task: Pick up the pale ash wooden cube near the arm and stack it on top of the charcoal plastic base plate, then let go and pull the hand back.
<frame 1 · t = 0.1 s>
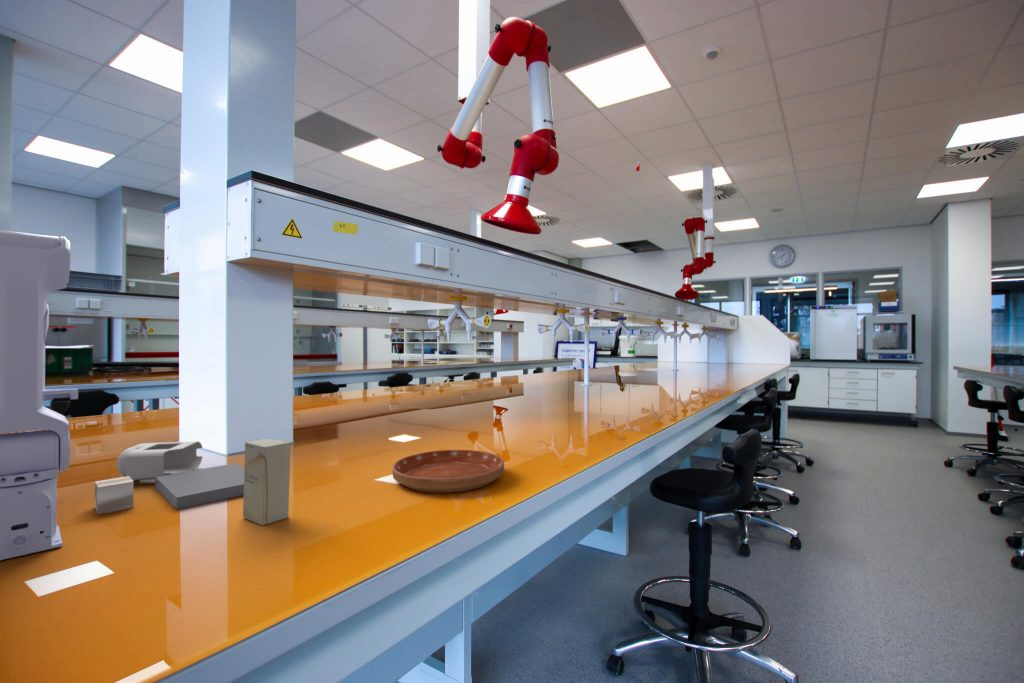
hand: (21, 442, 83), 10 cm above the counter, fingers open, 7 cm apart
saucer: (449, 480, 96), on the counter
ash cube: (114, 507, 78), on the counter
cable organizer: (159, 477, 97), on the counter
base plate: (209, 488, 89), on the counter
skincare box: (266, 519, 74), on the counter
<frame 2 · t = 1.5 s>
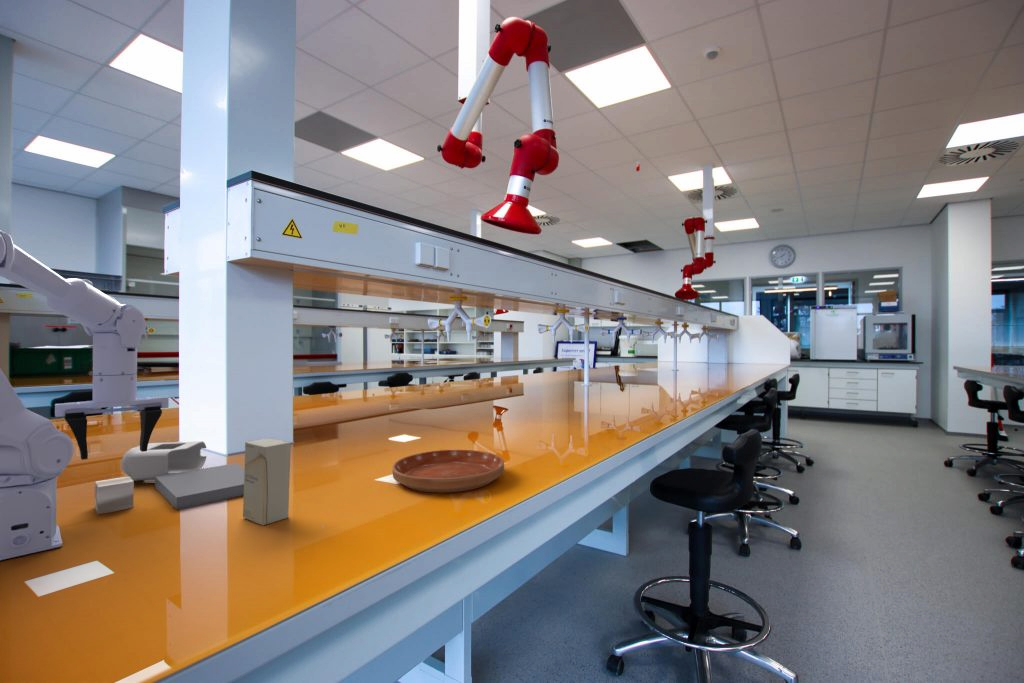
hand: (114, 454, 78), 9 cm above the counter, fingers open, 7 cm apart
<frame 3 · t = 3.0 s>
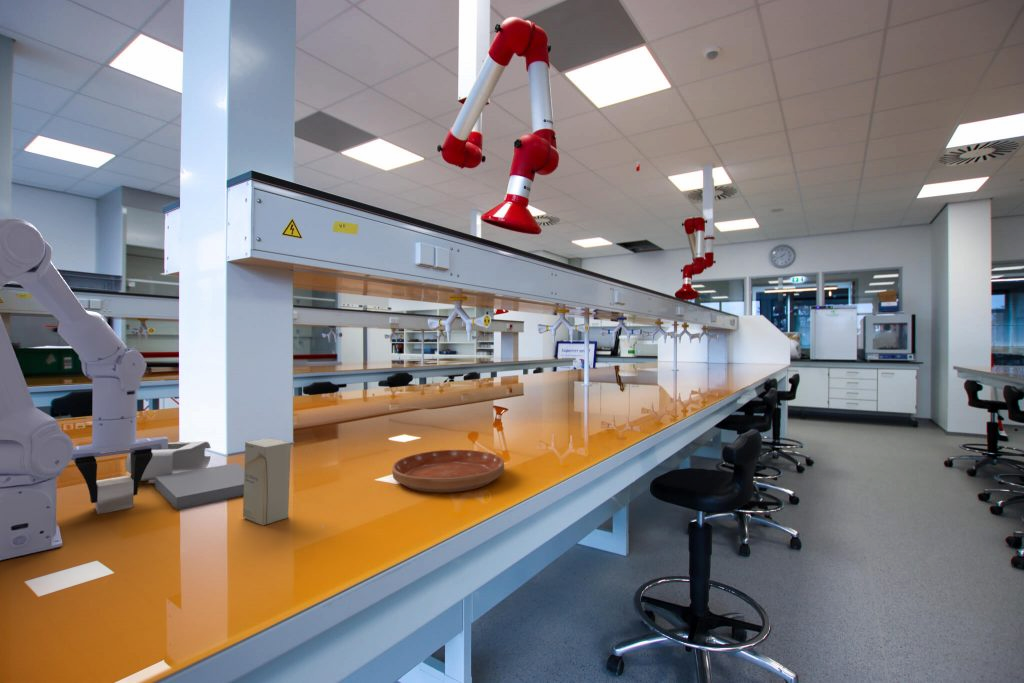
hand: (114, 497, 78), 2 cm above the counter, fingers closed on ash cube, 4 cm apart
ash cube: (114, 507, 78), on the counter, touching gripper
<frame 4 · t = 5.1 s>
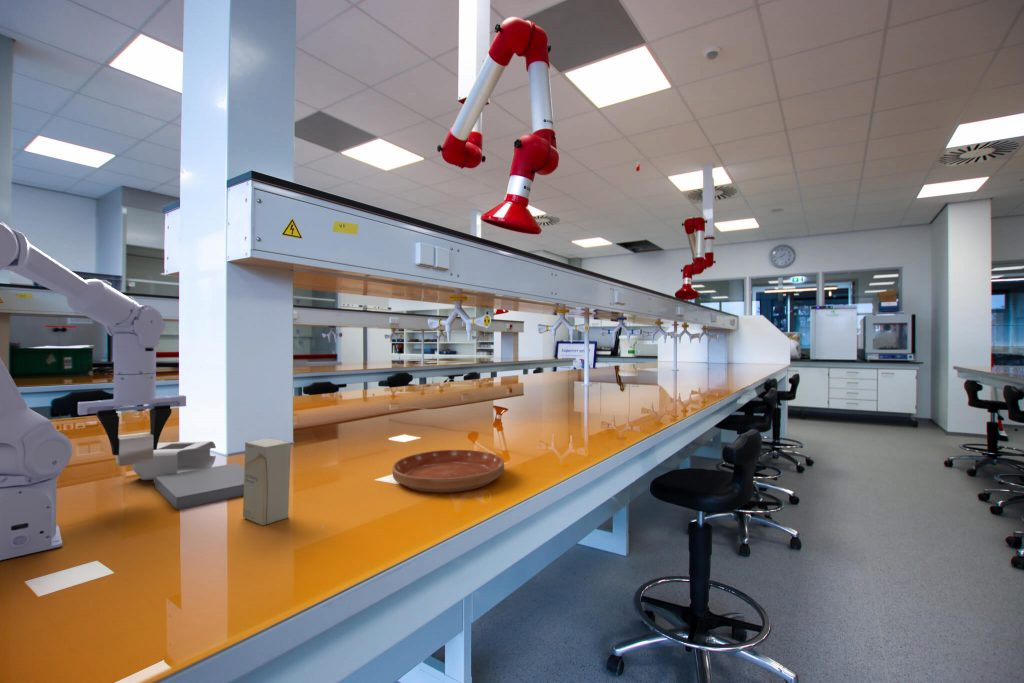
hand: (134, 451, 80), 9 cm above the counter, fingers closed on ash cube, 4 cm apart
ash cube: (134, 461, 80), point 7 cm above the counter, touching gripper
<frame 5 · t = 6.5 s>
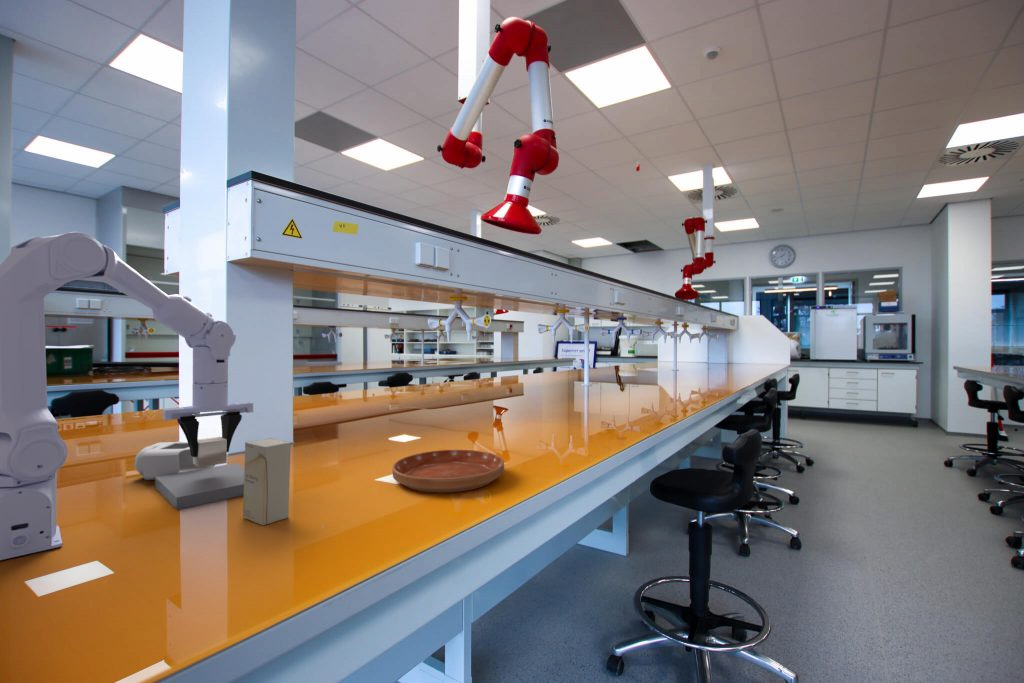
hand: (210, 453, 89), 7 cm above the counter, fingers closed on ash cube, 4 cm apart
ash cube: (209, 463, 89), point 5 cm above the counter, touching gripper
cable organizer: (175, 476, 98), on the counter, touching base plate
everything else where it was.
when the fingers open (4 cm above the counter, at t = 7.5 s): ash cube stays where it is, resting on base plate.
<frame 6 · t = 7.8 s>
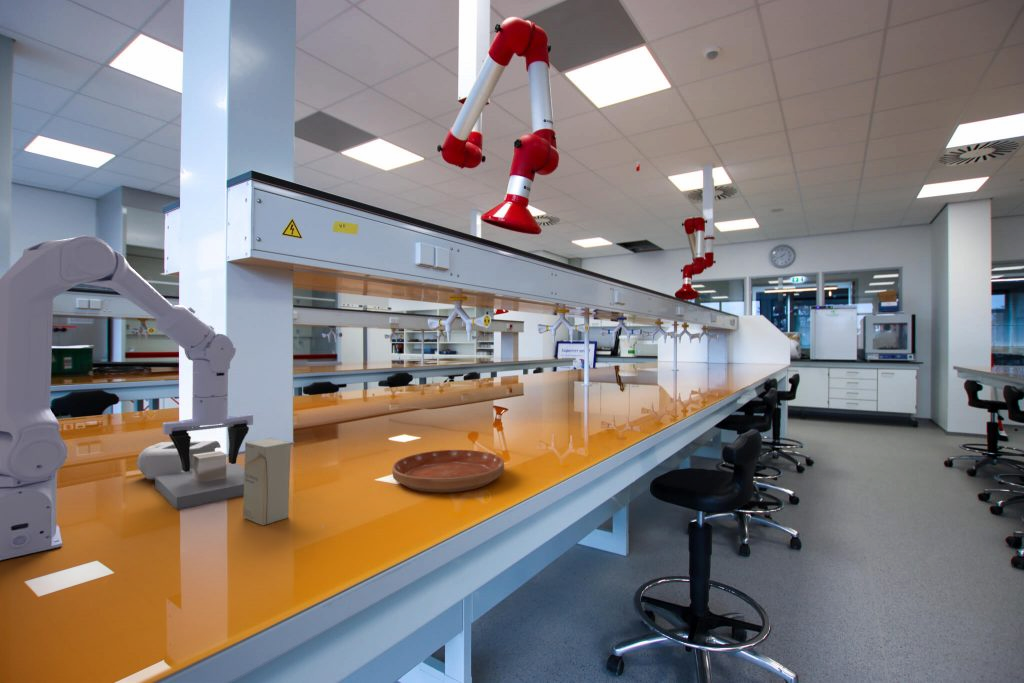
hand: (209, 466, 89), 4 cm above the counter, fingers open, 7 cm apart
ash cube: (209, 478, 89), point 2 cm above the counter, touching base plate
cable organizer: (178, 476, 98), on the counter
everything else where it was.
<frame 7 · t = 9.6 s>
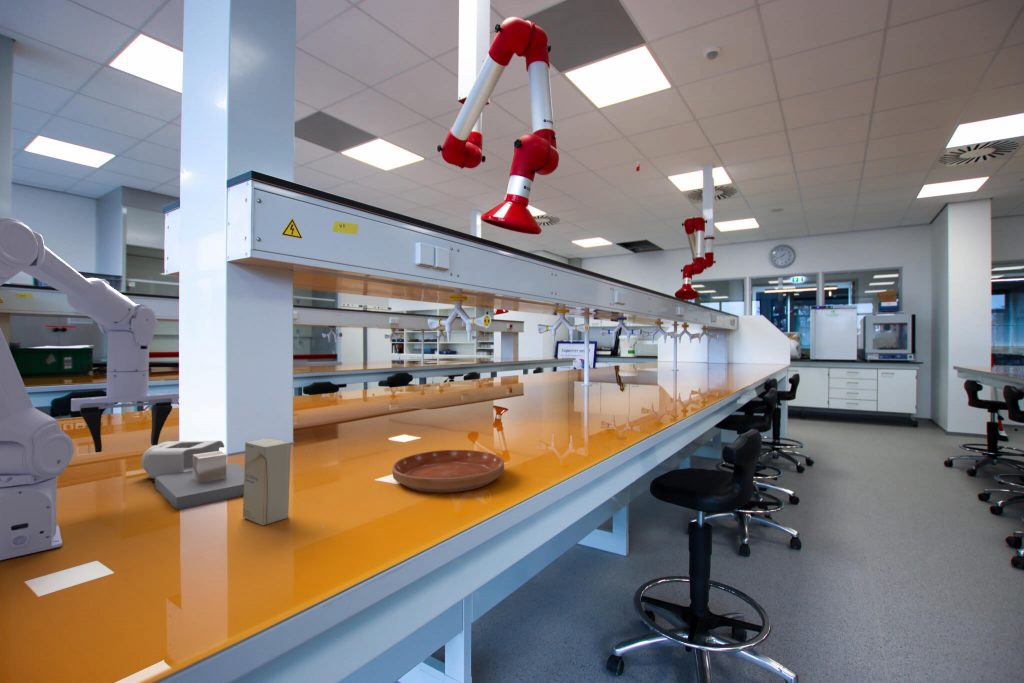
hand: (127, 447, 82), 9 cm above the counter, fingers open, 7 cm apart
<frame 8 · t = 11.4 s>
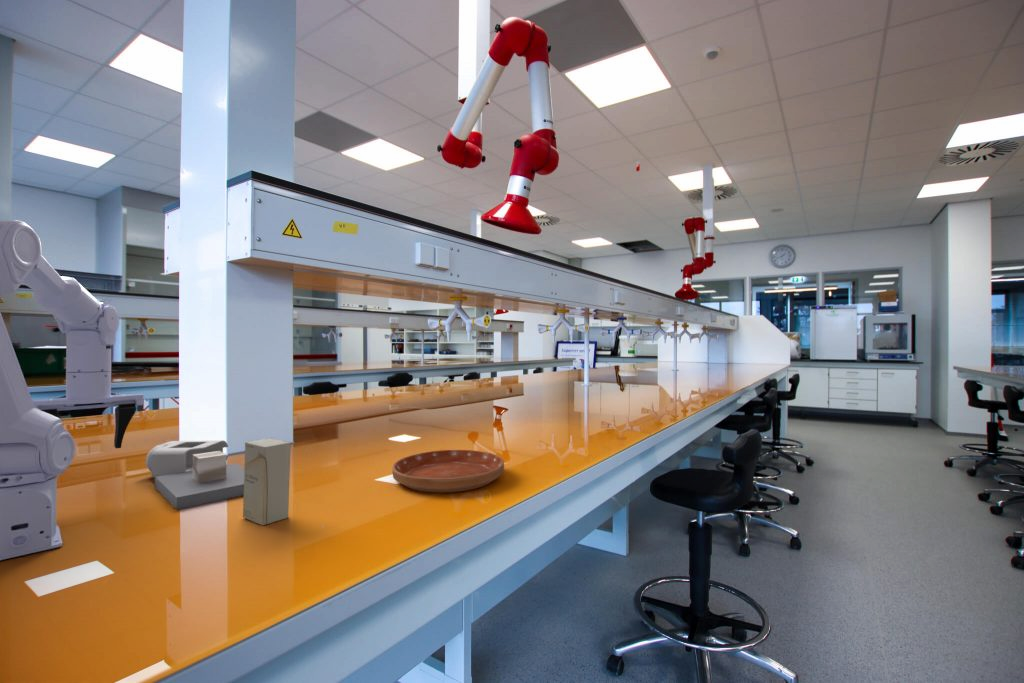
hand: (88, 451, 79), 9 cm above the counter, fingers open, 7 cm apart
at the end: ash cube inside the target area on the base plate (0.2 cm from its centre), point 2.0 cm above the base plate's base; ash cube tilted 0°; the gripper is holding nothing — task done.
